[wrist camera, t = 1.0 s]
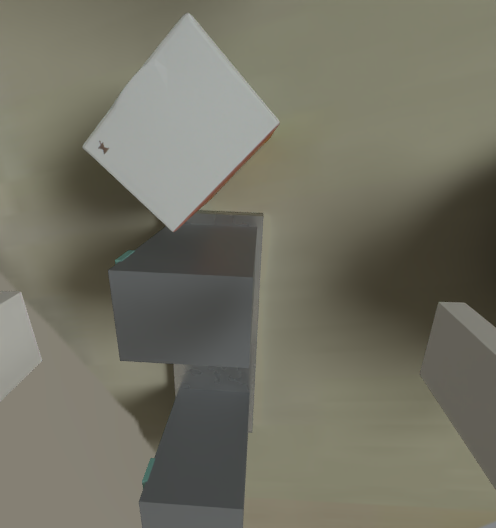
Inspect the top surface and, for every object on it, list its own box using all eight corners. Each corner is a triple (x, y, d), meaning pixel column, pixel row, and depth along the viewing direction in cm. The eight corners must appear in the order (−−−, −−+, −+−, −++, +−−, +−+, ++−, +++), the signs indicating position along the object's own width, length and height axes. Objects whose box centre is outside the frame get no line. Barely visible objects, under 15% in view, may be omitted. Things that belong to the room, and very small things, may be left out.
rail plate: (169, 209, 29) (164, 211, 28) (263, 213, 29) (263, 216, 27) (180, 417, 38) (177, 427, 37) (252, 422, 38) (252, 432, 36)
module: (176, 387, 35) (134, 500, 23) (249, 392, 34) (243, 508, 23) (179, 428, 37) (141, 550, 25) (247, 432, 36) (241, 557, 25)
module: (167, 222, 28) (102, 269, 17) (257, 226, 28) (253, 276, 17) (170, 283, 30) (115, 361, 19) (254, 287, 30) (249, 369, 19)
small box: (210, 201, 29) (171, 237, 17) (159, 149, 27) (75, 146, 15) (274, 136, 27) (283, 121, 14) (222, 76, 25) (183, 4, 13)
